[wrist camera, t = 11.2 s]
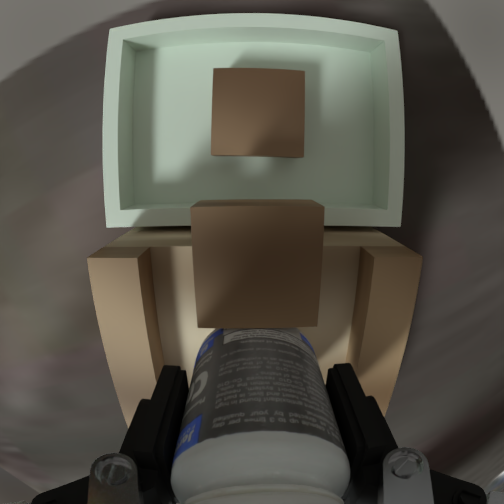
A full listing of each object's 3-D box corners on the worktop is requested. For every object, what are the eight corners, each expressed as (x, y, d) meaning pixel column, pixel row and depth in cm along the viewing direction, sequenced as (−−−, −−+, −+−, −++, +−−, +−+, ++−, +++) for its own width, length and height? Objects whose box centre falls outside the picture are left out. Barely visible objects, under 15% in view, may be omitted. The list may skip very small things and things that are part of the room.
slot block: (335, 415, 20) (356, 484, 14) (170, 417, 20) (152, 486, 14) (364, 222, 17) (422, 256, 10) (142, 223, 16) (86, 257, 10)
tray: (381, 218, 16) (400, 227, 14) (125, 218, 16) (106, 227, 14) (379, 45, 14) (397, 30, 11) (126, 44, 14) (109, 28, 11)
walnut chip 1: (304, 70, 12) (298, 81, 14) (213, 68, 12) (217, 79, 14) (303, 157, 13) (297, 158, 15) (210, 155, 13) (215, 156, 15)
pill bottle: (189, 313, 12) (122, 521, 3) (316, 308, 12) (400, 509, 4) (204, 406, 13) (179, 579, 5) (310, 402, 13) (348, 572, 5)
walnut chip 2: (307, 302, 12) (317, 326, 10) (205, 303, 12) (197, 328, 10) (311, 199, 11) (324, 206, 9) (200, 200, 11) (190, 207, 9)
